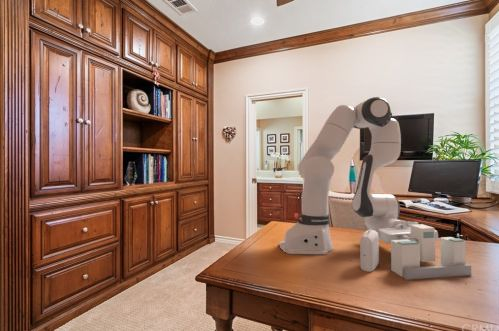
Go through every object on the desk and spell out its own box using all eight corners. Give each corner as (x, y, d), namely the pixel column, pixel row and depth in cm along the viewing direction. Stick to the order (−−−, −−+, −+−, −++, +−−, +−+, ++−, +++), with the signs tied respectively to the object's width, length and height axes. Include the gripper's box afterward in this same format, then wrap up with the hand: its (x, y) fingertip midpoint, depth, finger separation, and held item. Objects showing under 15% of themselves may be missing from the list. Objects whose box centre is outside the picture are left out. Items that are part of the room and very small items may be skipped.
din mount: (406, 279, 75) (405, 245, 75) (391, 270, 82) (390, 239, 81) (471, 275, 77) (470, 241, 77) (451, 266, 84) (451, 235, 84)
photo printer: (372, 273, 80) (372, 235, 80) (358, 269, 82) (358, 232, 82) (380, 263, 87) (380, 228, 87) (367, 260, 90) (367, 226, 90)
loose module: (423, 262, 81) (422, 228, 81) (411, 256, 86) (410, 224, 86) (435, 261, 81) (434, 228, 81) (423, 255, 87) (422, 224, 86)
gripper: (370, 224, 95) (395, 234, 82) (419, 221, 98) (451, 230, 84) (371, 240, 96) (396, 253, 82) (419, 237, 98) (451, 249, 84)
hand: (424, 241), depth 83 cm, fingers closed on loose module, 4 cm apart
